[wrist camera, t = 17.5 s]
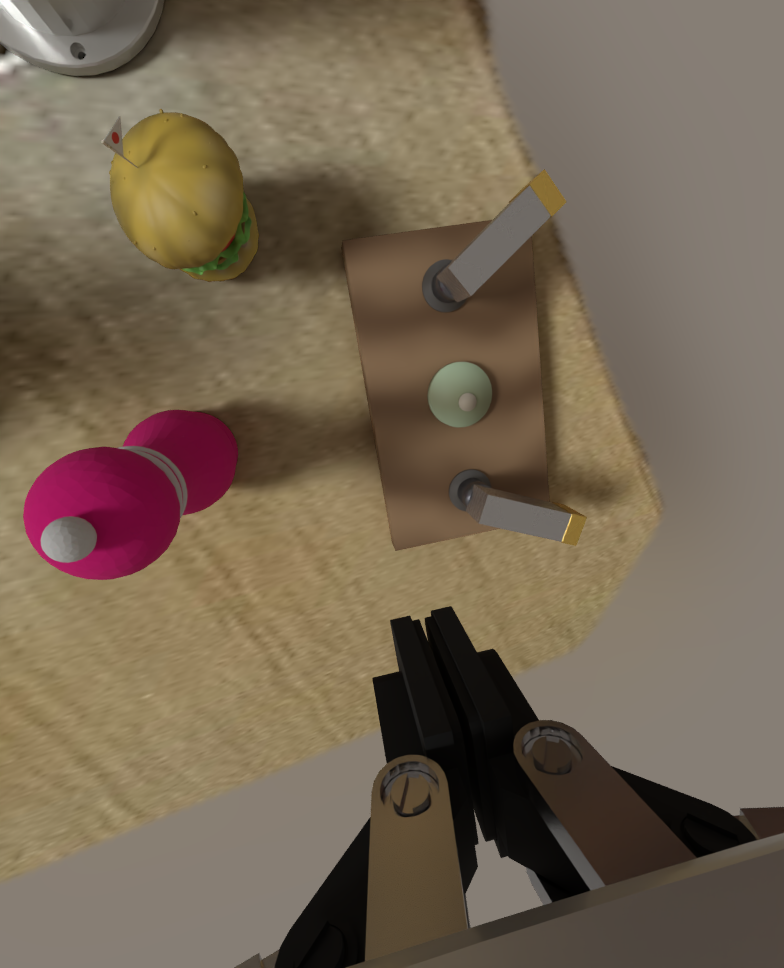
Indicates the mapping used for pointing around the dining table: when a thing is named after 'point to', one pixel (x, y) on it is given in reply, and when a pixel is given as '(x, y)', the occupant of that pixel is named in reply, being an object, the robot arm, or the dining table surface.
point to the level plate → (447, 379)
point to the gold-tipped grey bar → (498, 240)
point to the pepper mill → (129, 494)
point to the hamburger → (182, 196)
